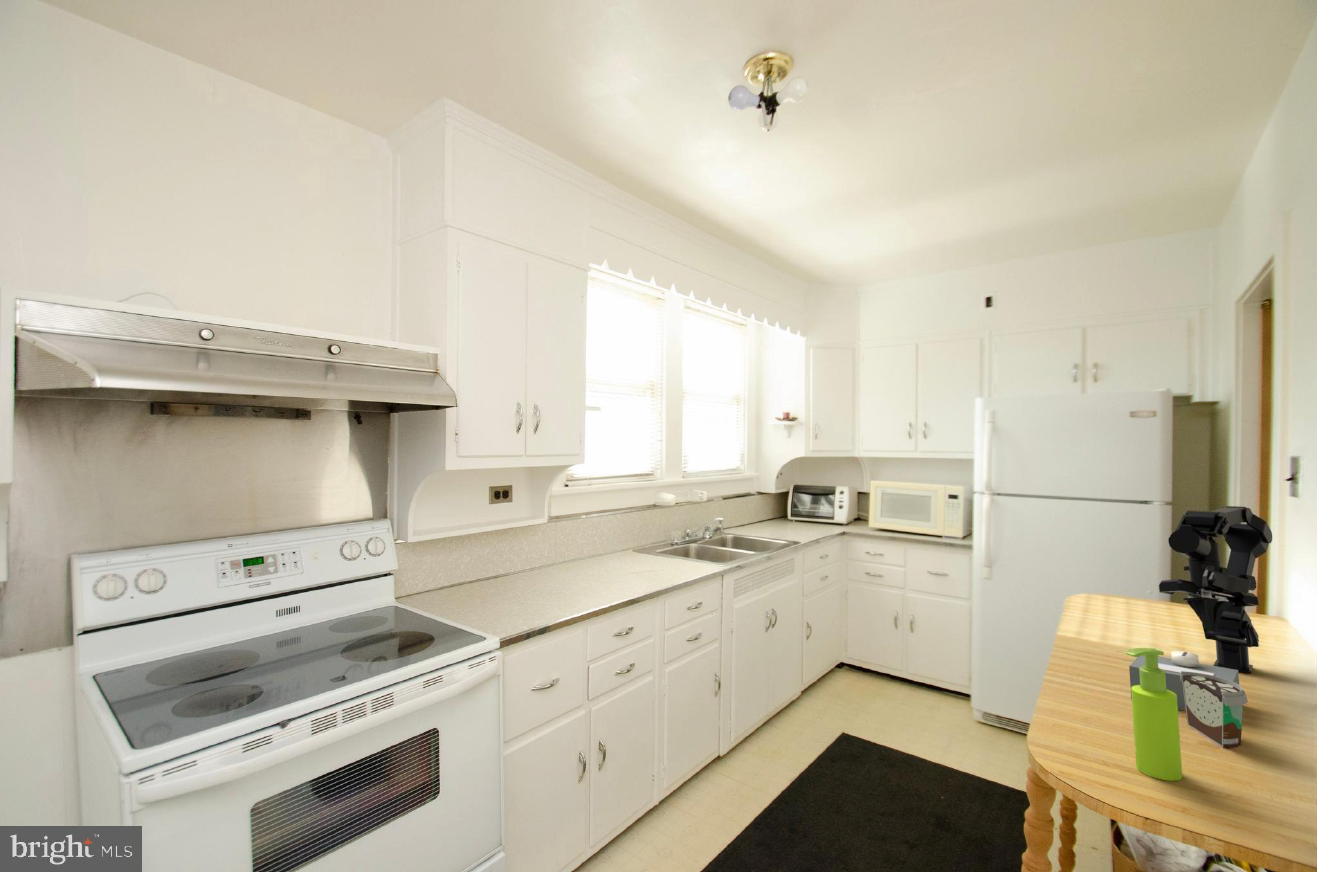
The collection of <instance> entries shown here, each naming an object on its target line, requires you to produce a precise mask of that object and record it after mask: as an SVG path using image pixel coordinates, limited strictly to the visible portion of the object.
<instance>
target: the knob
mask: <svg viewBox="0 0 1317 872" xmlns="http://www.w3.org/2000/svg"><path fill="white" fill-rule="evenodd" d="M1170 653H1171V655H1170V658H1171V659H1172V663H1174V664H1177V665H1181V666H1186V667H1198V666H1199V663H1200V661H1199V655H1198V654H1195V653H1193V652H1188V651H1184V650H1183V651H1181V650H1172V651H1170Z"/></svg>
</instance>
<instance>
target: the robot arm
mask: <svg viewBox="0 0 1317 872" xmlns="http://www.w3.org/2000/svg"><path fill="white" fill-rule="evenodd" d="M1221 537H1223V538H1224V541H1225V544H1227V547H1229V549H1230V551H1229V552H1230V553H1229V556H1228V561H1227V564H1226V567H1223V566H1222V563H1221V562H1222V561H1221V553H1220V544H1219V542H1218V541H1216V540H1215V539H1214V538H1221ZM1167 539H1168V540H1167V541H1168V545H1169V547H1170V548H1171V549H1172V550H1173V551H1175V552H1177V553H1178V554H1181V555H1183V556H1185V557H1187V563H1188V564H1187V565H1188V566H1187V565H1186V566H1183V570H1184V572H1188V574H1189V580H1186V579H1181V578H1179V579H1166V580H1161V581H1160V583H1159V584H1158V590H1159V593H1161V594H1164V595H1165V594H1166V595H1174V594H1175V593H1176V592H1179V593H1182V594H1183V593H1184V594H1188V595H1187V597H1183V598H1182V601H1184V602H1186V603H1187V604H1188V605H1189V607H1190V608H1191V609H1192V610H1193V612H1194V613H1195V614H1196V616H1197V617H1198V619H1199V620H1200V622H1201V625H1202V630H1203V633H1204V638H1205V640H1211V641H1215V649H1216V652H1215V653H1216V660H1215V661H1214V663H1213V666H1217V667H1223V668H1229V669H1235V670H1238V672H1240V673H1247V674H1252V670H1253V668H1254V664H1250V658H1249V657H1250V656H1249V648H1259V647H1260V643H1259V642H1260V639H1259V634H1258V632H1257V631H1256V629H1255V627H1254V625H1253V624H1252V619H1251V617H1250V616H1249V614H1248V613H1247V610H1246V609H1245V608H1246V607H1259V605H1260V604H1259V597H1258V596H1257V595H1256V594H1255V593H1253V592H1254V591H1256V589H1257V581H1256V577H1255V576H1254V575H1253V572H1254V567H1255V563H1256V559H1258V558H1259V557H1261V556H1262V555H1265V553H1266V552H1267V551H1268V548H1269V545H1270V544H1272V542H1273V533H1272V530H1271V528H1270V526H1269V525H1268V522H1267V521H1266V520H1265V519H1263V518H1261V517H1259V516H1257V515H1256V514H1254V513H1253V511H1252V510H1251V508H1250V507H1247V506H1240V505H1239V506H1237V505H1235V506H1233V505H1226V506H1222V507H1220V508H1217V509H1214V510H1194V509H1193V510H1191V509H1189V510H1186V512H1185V513H1184V514H1183V515H1182V517H1181V518H1180V521H1179V523H1178V525H1177V526H1176V528H1175V530H1174V532H1172V533H1171V534H1170V535H1169V536H1168V538H1167ZM1250 591H1253V592H1250Z"/></svg>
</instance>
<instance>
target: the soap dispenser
mask: <svg viewBox="0 0 1317 872" xmlns="http://www.w3.org/2000/svg"><path fill="white" fill-rule="evenodd" d="M1124 654H1126V655H1128V656H1131V657H1134V658H1137V657H1139V656H1144V655H1145V666H1143V667H1140V668H1139V672H1140V685H1135V686H1132V687H1131V686H1130V694H1131V693H1132V699H1131V706H1132V721H1133V723H1132V724H1133V737H1134V739H1133V740H1134V751H1135V753H1134V754H1135V767H1136V769H1137V770H1138V771H1139V772H1141V773H1143V774H1144V775H1146V776H1149V777H1152V778H1155V779H1158V780H1163V781H1173V782H1174V781H1180V780H1182V778H1183V768H1182V753H1181V740H1180V739H1181V737H1180V722H1179V721H1180V720H1179V711H1178V710H1179V709H1178V706H1177V695H1176V694H1175V693H1174V692H1172V691H1170V690H1167V689H1166V675H1165V671H1164V670H1162V669H1160V668H1158V656H1165V654H1164V651H1162V650H1161V649H1156V648H1153V647H1136V648H1131V649H1127V650H1125V651H1124Z"/></svg>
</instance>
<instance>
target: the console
mask: <svg viewBox="0 0 1317 872" xmlns="http://www.w3.org/2000/svg"><path fill="white" fill-rule="evenodd" d="M1128 666H1129V683H1130V685H1129V686H1130V688H1131V687H1132V686H1135V685H1140V672H1139V668H1140V667H1143V666H1145V655H1144V656H1139V657H1135V659H1134V660H1133V661H1132V662H1131V663H1130V664H1129V665H1128ZM1158 668H1160V669H1162V670H1164V671H1165V675H1166V689H1167V690H1170V691H1172V692H1174V693H1175V694H1176V695H1177V706H1178V710H1180V711H1184V712H1186V707H1185V700H1184V692H1183V685H1182V681H1180V674H1181V671H1185V672H1195V673H1202V674H1207V675H1212V676H1216V677H1220V678H1224V679H1227V680H1230V681H1232V682H1235V683H1237V684H1239V685H1240V676H1239V674H1240V673H1239V671H1238V670H1235V669H1229V668H1223V667H1217V666H1214V665H1211V664H1204V663H1200V662H1199V666H1198V667H1186V666H1181V665H1177V664H1174V663H1172V658H1171V657H1164V656H1161V655H1158ZM1130 700H1132V693H1131V692H1130Z"/></svg>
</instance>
